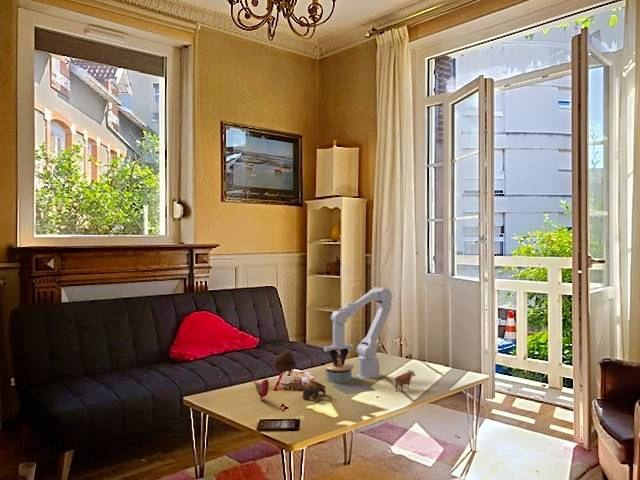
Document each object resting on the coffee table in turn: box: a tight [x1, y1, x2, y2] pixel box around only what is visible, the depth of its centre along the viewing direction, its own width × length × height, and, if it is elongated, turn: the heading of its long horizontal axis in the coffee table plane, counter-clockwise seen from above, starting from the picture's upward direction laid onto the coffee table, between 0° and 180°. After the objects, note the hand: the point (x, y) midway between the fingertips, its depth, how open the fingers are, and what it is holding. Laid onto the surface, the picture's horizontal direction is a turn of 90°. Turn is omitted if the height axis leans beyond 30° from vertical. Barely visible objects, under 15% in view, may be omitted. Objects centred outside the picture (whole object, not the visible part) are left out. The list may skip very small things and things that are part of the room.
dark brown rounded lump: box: [272, 350, 297, 375], centre depth 257 cm, size 11×11×15 cm
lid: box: [323, 358, 354, 372], centre depth 262 cm, size 14×14×5 cm
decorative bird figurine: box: [252, 378, 270, 402], centre depth 232 cm, size 3×18×10 cm, turn 27°
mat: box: [331, 381, 376, 395], centre depth 248 cm, size 15×15×1 cm
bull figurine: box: [394, 369, 416, 392], centre depth 246 cm, size 4×13×8 cm, turn 137°
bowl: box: [325, 369, 353, 384], centre depth 262 cm, size 12×12×5 cm
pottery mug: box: [301, 380, 327, 402], centre depth 234 cm, size 12×10×8 cm
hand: (338, 365), depth 262 cm, fingers closed on lid, 3 cm apart
